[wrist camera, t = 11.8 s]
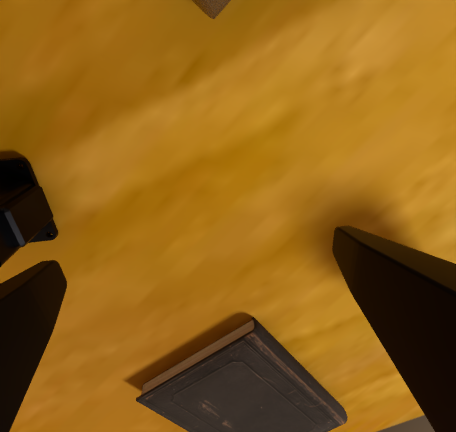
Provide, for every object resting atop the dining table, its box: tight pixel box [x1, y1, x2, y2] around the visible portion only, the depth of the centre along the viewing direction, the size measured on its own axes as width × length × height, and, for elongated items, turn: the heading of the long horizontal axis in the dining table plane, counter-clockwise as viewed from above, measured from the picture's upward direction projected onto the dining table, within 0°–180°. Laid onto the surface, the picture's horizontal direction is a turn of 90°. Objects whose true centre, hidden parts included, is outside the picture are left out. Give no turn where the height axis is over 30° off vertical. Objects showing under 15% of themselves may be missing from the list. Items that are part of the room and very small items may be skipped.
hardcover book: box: [136, 317, 347, 432], centre depth 34 cm, size 16×23×2 cm
